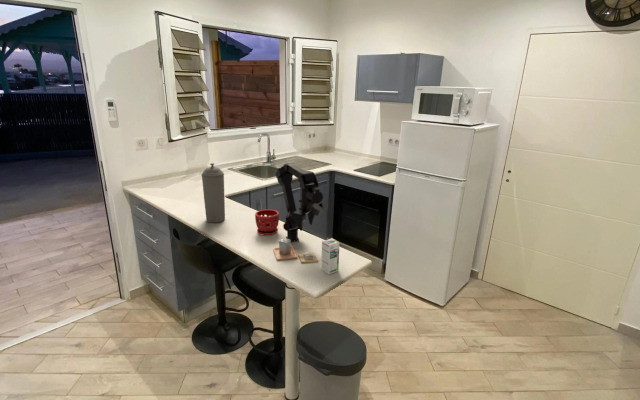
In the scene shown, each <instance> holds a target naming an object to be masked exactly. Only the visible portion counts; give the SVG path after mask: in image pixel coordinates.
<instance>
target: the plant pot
mask: <svg viewBox="0 0 640 400" xmlns="http://www.w3.org/2000/svg"><path fill="white" fill-rule="evenodd" d="M265 215H266V216H265ZM254 220H255V224H256V228H257V231H256V232H257V233H258V234H259V235H261V236H267V237H269V236H274V235H275V234H277V233H278V232H279V228H278V226H279V222H280V212H279V211H278V210H276V209H275V210H274V209H261V210H259V211H256V212H255V213H254Z"/></svg>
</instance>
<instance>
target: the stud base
mask: <svg viewBox="0 0 640 400" xmlns="http://www.w3.org/2000/svg"><path fill="white" fill-rule="evenodd" d="M297 258H299V261H300V263H301V264H306V263H307V264H310V263H318V262H319V259H318V258H317V256H316V254H315V252H311V251H310V252H307V251H306V252H303V253H298V254H297Z"/></svg>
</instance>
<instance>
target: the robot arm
mask: <svg viewBox="0 0 640 400" xmlns="http://www.w3.org/2000/svg"><path fill="white" fill-rule="evenodd" d="M293 176H294V177H295V178H297V181H298V183H299V186H298V187H299V188H300V199H298V203H300V207H298V210H297V206H296V201H295V197H294V192H293V187H292V181H293V178H294V177H293ZM275 178H276V180H277V182H278V183H279V185H280V187H282V188H281V189H282V192H283V197H284V202H285V207H286V211H287V212H286V216H285V222H284V223H283V225H282V227H283V229H284V231H286V232H287V233H286V234H287V235H286V236H285V238H286V239H289V240H291V243H293V242H300V237H299V235H298V234H299V230H300V231H303V229H304V223H305V221H306V220H307V218H308V223H309V225H313V222H314V219H315V217H318V216H321V215H322V213H323V211H325V203H323V202H322V201H323V199H324V194H323V193H322V192H321V190H320V188H319V187H320V185H319V181H318V179H317V177H316V174H315V172H313V171H311V170H304V169H303V168H301V167H300V166H298V165H296V164H295V163H294V162H286V163H284V164H283V166H281V167H279V168H278V169H277V170H276V172H275Z"/></svg>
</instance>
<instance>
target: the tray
mask: <svg viewBox="0 0 640 400" xmlns="http://www.w3.org/2000/svg"><path fill="white" fill-rule="evenodd" d="M272 250H273V254H274V257H275V259H276V261H287V260H297V259H298V254H297V252H296V251H295V248H294V246H293V245H291V253H289V254H288V255H287V256H285V255H282V254H279V247H278V246H277V247H273V248H272Z"/></svg>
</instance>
